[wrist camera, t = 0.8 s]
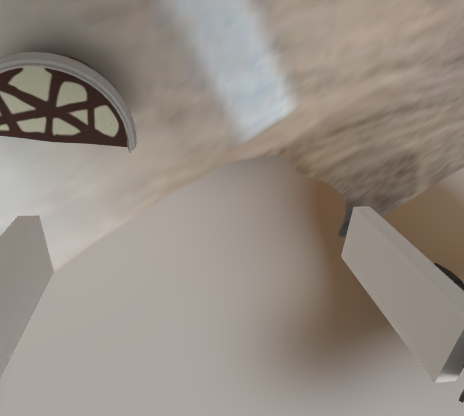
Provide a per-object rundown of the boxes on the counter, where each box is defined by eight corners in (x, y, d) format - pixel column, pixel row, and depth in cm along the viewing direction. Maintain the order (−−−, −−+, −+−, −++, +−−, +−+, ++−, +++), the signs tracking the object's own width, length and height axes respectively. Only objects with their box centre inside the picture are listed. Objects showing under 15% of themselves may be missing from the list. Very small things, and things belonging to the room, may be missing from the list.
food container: (135, 54, 32) (144, 73, 24) (131, 117, 35) (138, 153, 27) (-19, 26, 27) (-73, 37, 19) (-9, 101, 30) (-52, 138, 22)
